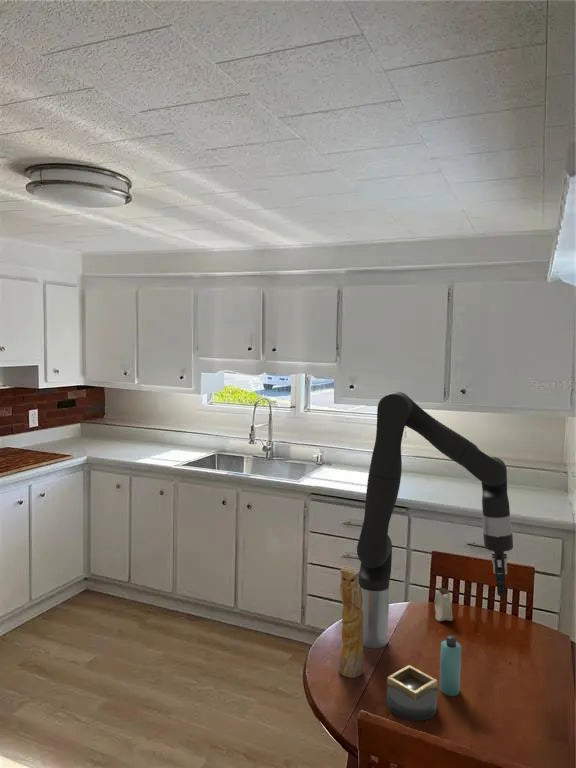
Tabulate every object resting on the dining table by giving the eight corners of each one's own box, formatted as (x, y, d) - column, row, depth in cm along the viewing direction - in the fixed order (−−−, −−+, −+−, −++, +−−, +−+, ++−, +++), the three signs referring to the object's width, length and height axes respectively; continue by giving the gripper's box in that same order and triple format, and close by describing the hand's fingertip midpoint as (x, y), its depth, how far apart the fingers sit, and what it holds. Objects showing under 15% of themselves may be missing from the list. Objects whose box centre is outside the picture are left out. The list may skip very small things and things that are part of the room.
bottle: (435, 689, 150) (437, 636, 149) (446, 681, 153) (448, 630, 152) (452, 698, 146) (454, 644, 145) (463, 690, 149) (465, 638, 148)
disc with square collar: (376, 702, 144) (377, 676, 143) (407, 684, 151) (407, 659, 151) (416, 727, 135) (416, 699, 134) (446, 707, 142) (447, 680, 142)
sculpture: (333, 681, 152) (336, 570, 150) (341, 663, 161) (344, 558, 159) (358, 686, 150) (361, 574, 148) (365, 667, 159) (368, 561, 157)
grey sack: (453, 628, 186) (466, 601, 185) (433, 622, 185) (446, 595, 184) (441, 612, 195) (454, 586, 194) (422, 606, 193) (435, 580, 192)
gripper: (483, 523, 167) (487, 579, 167) (482, 538, 153) (487, 599, 154) (511, 524, 164) (515, 580, 165) (512, 539, 151) (517, 600, 151)
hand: (501, 589), depth 159 cm, fingers open, 8 cm apart
